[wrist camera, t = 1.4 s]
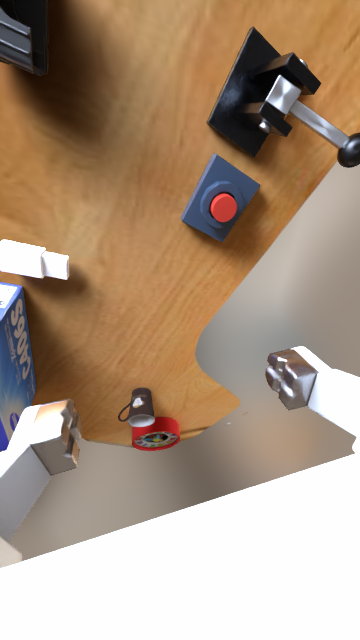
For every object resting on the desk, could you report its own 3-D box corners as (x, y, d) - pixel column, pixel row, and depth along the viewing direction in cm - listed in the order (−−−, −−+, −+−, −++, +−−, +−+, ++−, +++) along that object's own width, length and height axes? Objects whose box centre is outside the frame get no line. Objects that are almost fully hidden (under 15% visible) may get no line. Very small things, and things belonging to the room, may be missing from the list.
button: (219, 188, 37) (221, 191, 36) (238, 200, 38) (241, 203, 37) (205, 212, 39) (207, 215, 38) (224, 222, 41) (227, 226, 39)
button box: (213, 152, 37) (219, 156, 34) (255, 182, 40) (264, 187, 37) (180, 217, 43) (183, 225, 40) (219, 237, 46) (224, 246, 43)
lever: (372, 145, 27) (385, 140, 24) (348, 173, 28) (358, 172, 26) (280, 79, 26) (283, 66, 23) (261, 112, 28) (262, 104, 25)
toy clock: (173, 450, 105) (128, 451, 100) (172, 437, 110) (129, 437, 104) (185, 431, 93) (136, 431, 88) (184, 417, 97) (136, 416, 92)
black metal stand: (298, 79, 32) (356, 67, 23) (252, 156, 38) (284, 170, 29) (249, 28, 28) (296, -8, 20) (206, 122, 34) (227, 126, 25)
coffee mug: (155, 386, 79) (156, 414, 72) (152, 399, 85) (153, 426, 77) (120, 385, 76) (118, 414, 69) (119, 399, 82) (117, 427, 75)
